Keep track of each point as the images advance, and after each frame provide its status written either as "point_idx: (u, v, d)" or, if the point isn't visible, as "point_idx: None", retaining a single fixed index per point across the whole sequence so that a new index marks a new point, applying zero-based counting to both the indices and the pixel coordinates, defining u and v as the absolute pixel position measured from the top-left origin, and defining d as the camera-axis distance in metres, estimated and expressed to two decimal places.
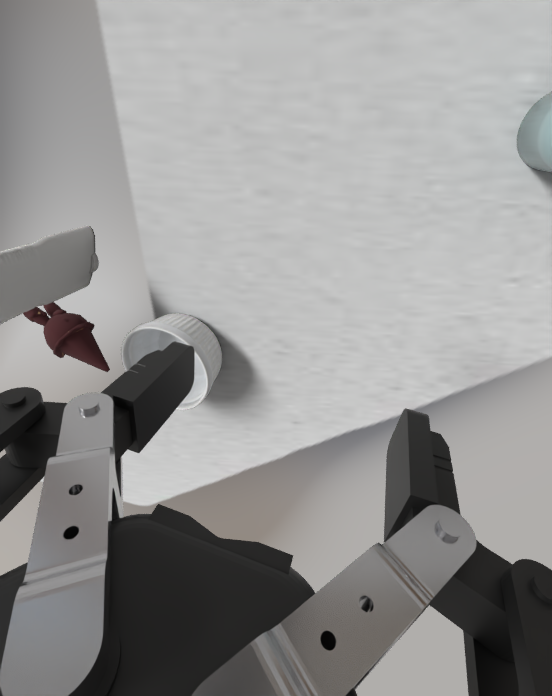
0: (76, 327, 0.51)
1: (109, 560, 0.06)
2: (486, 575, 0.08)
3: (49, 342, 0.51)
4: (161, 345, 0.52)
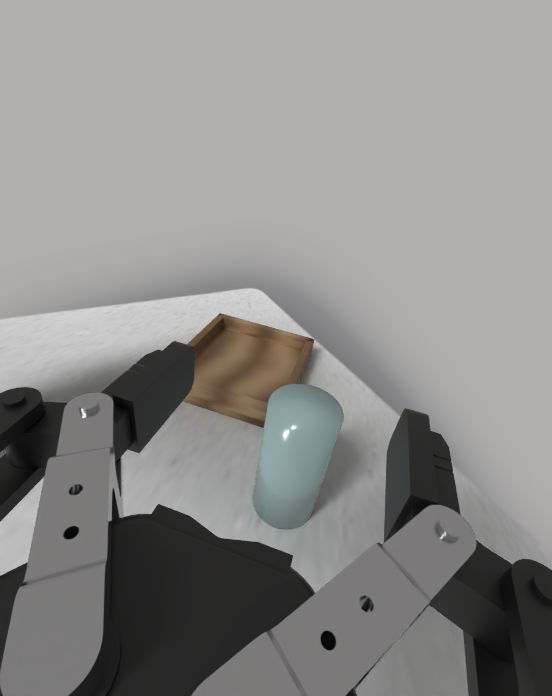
0: None
1: (109, 560, 0.06)
2: (486, 575, 0.08)
3: None
4: None
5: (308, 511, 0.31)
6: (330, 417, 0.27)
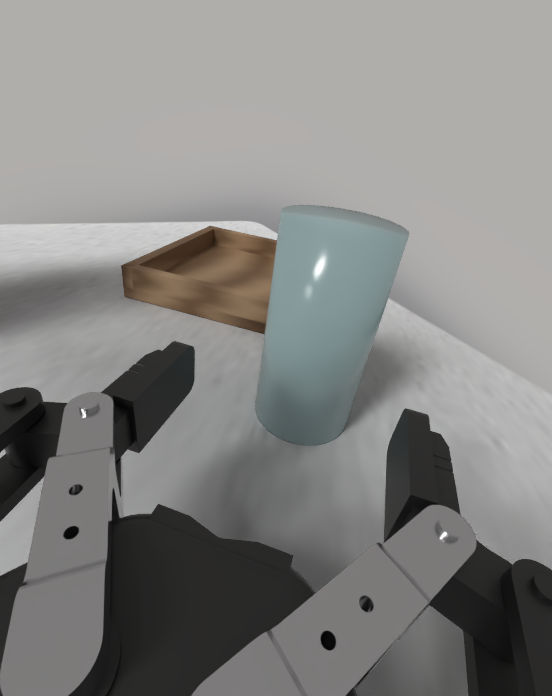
0: None
1: (110, 560, 0.06)
2: (486, 575, 0.08)
3: None
4: None
5: (342, 415, 0.20)
6: (387, 229, 0.16)
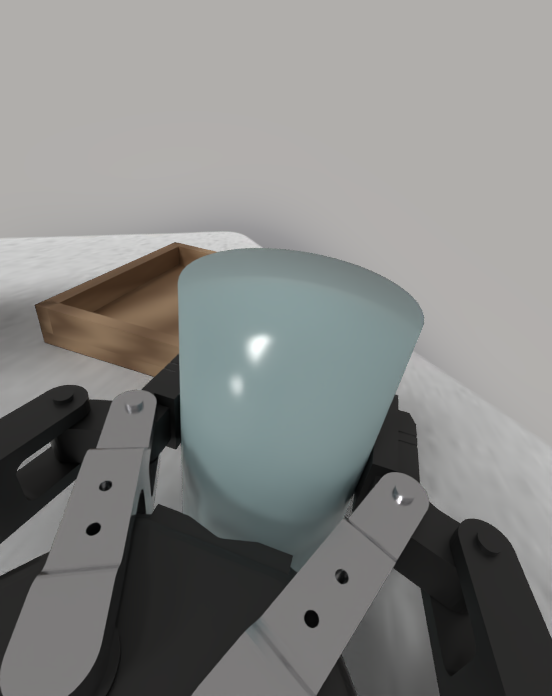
0: None
1: (125, 564, 0.06)
2: (437, 534, 0.08)
3: None
4: None
5: None
6: (381, 308, 0.08)
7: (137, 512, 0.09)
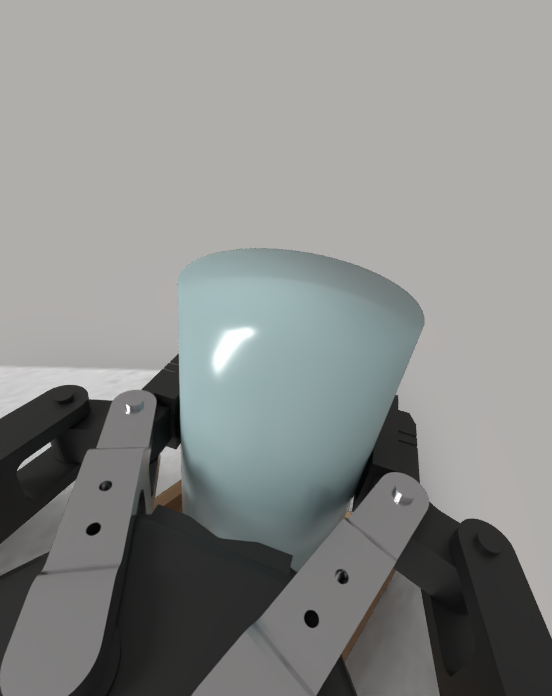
0: None
1: (124, 564, 0.06)
2: (437, 534, 0.08)
3: None
4: None
5: None
6: (381, 309, 0.08)
7: (137, 512, 0.09)
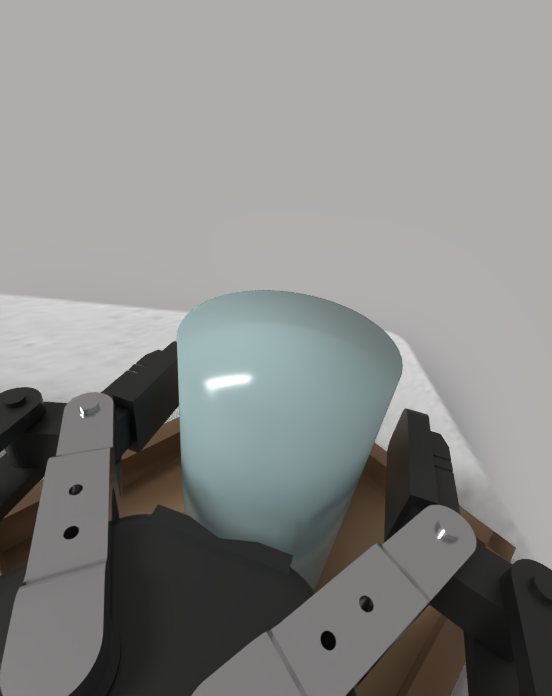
0: None
1: (110, 560, 0.06)
2: (486, 575, 0.08)
3: None
4: None
5: None
6: (364, 358, 0.09)
7: None
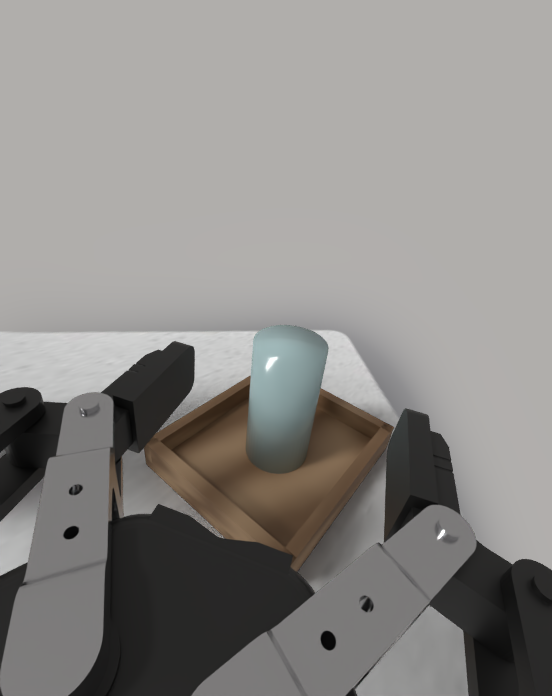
0: None
1: (110, 561, 0.06)
2: (486, 575, 0.08)
3: None
4: None
5: (303, 452, 0.32)
6: (315, 348, 0.28)
7: None
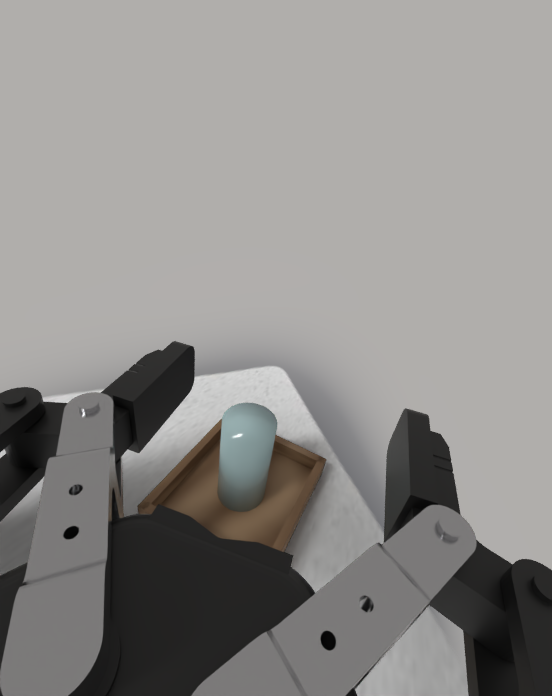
0: None
1: (110, 560, 0.06)
2: (486, 575, 0.08)
3: None
4: None
5: (262, 492, 0.42)
6: (268, 423, 0.38)
7: None
